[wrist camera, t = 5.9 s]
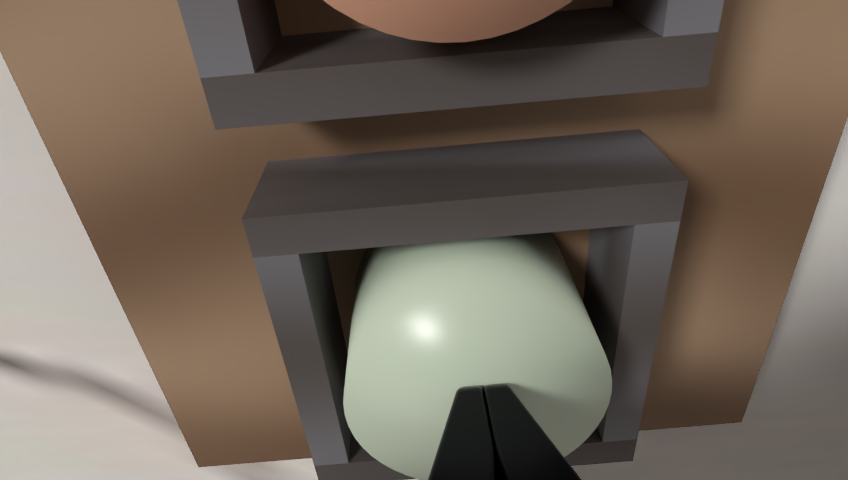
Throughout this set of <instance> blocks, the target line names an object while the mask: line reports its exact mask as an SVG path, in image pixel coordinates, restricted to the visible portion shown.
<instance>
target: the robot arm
mask: <svg viewBox="0 0 848 480" xmlns="http://www.w3.org/2000/svg"><path fill="white" fill-rule="evenodd" d="M428 480H581V479H580V478H579V476H578V475H577V474H576V472H575V471H574V470H573V468H572V467H571V466H570V465H569V463H568V462H567V461H566V459H565V458H564V457H563V455H562V454H561V453H560V451H559V450H558V449H557V448H556V446H555V445H554V444H553V442H552V441H551V440H550V438H549V437H548V436H547V435H546V433H545V432H544V431H543V429H542V428H541V427H540V425H539V424H538V423H537V422H536V420H535V419H534V418H533V416H532V415H531V414H530V412H529V411H528V410H527V408H526V407H525V406H524V405H523V403H522V402H521V401H520V399H519V398H518V397H517V395H516V394H515V393H514V392H513V390H512V389H511V388H510V387H509V386H508V385H506V384H499V385H488V386H485V387H484V388H483V390H482V388H481V387H478V386H476V387H464V388H459V389H458V390H457V391H456V394H455V397H454V400H453V403H452V406H451V409H450V412H449V416H448V419H447V422H446V425H445V428H444V431H443V434H442V437H441V440H440V444H439V447H438V450H437V453H436V456H435V459H434V462H433V465H432V468H431V472H430V475H429V478H428Z"/></svg>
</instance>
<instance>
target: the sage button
mask: <svg viewBox="0 0 848 480" xmlns="http://www.w3.org/2000/svg"><path fill="white" fill-rule="evenodd" d="M499 384H506V385H508V386H509V387H510V388H511V389H512V390H513V392H514V393H515V394H516V395H517V397H518V398H519V399H520V401H521V402H522V403H523V405H524V406H525V407H526V408H527V410H528V411H529V412H530V414H531V415H532V416H533V418H534V419H535V420H536V422H537V423H538V424H539V425H540V427H541V428H542V429H543V431H544V432H545V433H546V435H547V436H548V437H549V438H550V440H551V441H552V442H553V444H554V445H555V446H556V448H557V449H558V450H559V451H560V453H561V454H562V455H563V457H565V456H567V455H568V454H570V453H571V452H572V451H574V450H575V449H576V448H578V447H579V446H580V445H581V444H582V443H583V442H584V441H585V440H586V439H587V438H588V437H589V436H590V435H591V434H592V433H593V431H594V430H595V429H596V428H597V426H598V425H599V423H600V422H601V420H602V418H603V417H604V415H605V412H606V410H607V408H608V405H609V402H610V397H611V393H612V375H611V368H610V366H609V363H608V360H607V357H606V355H605V352H604V350H603V348H602V345H601V343H600V341H599V338H598V336H597V334H596V332H595V329H594V327H593V325H592V322H591V320H590V318H589V315H588V313H587V311H586V308H585V306H584V304H583V302H582V299H581V297H580V295H579V292H578V290H577V288H576V285H575V283H574V281H573V279H572V276H571V274H570V272H569V269H568V267H567V265H566V262H565V260H564V258H563V256H562V253H561V251H560V249H559V247H558V245H557V244H556V242H555V240H554V239H553V237H552V236H551V235H550V234H549V232H548V233H537V234H525V235H514V236H502V237H490V238H479V239H467V240H455V241H444V242H432V243H421V244H409V245H397V246H386V247H374V248H368V249H367V251H366V252H365V254H364V255H363V257H362V260H361V262H360V265H359V267H358V271H357V275H356V281H355V290H354V300H353V309H352V319H351V329H350V338H349V348H348V357H347V367H346V376H345V386H344V399H343V406H344V413H345V417H346V421H347V424H348V427H349V428H350V430H351V432H352V434H353V436H354V437H355V439H356V440H357V441H358V443H359V444H360V445H361V446H362V448H364V449H365V450H366V451H367V452H368V453H369V454H370V455H371V456H372V457H374V458H375V459H376V460H378V461H379V462H381V463H382V464H384V465H386V466H387V467H389V468H391V469H393V470H395V471H397V472H400V473H402V474H404V475H407V476H410V477H413V478H417V479H420V480H428V478H429V475H430V472H431V468H432V465H433V462H434V459H435V456H436V453H437V450H438V447H439V444H440V440H441V437H442V434H443V431H444V428H445V425H446V422H447V419H448V416H449V412H450V409H451V406H452V403H453V400H454V397H455V394H456V391H457V390H458V389H459V388H464V387H476V386H478V387H481V388H482V390H483V388H484V387H485V386H488V385H499Z"/></svg>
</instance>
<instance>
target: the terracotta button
mask: <svg viewBox="0 0 848 480" xmlns="http://www.w3.org/2000/svg"><path fill="white" fill-rule="evenodd" d="M323 1H325V2H326V3H328V4H329V5H330V6H332V7H333V8H334V9H336V10H338V11H340V12H341V13H343V14H345V15H347V16H348V17H350V18H352V19H354V20H356V21H357V22H359V23H361V24H364V25H366V26H369V27H371V28H374V29H376V30H379V31H381V32H384V33H387V34H391V35H395V36H399V37H403V38H407V39H411V40H418V41H427V42H435V43H452V42H469V41H476V40H482V39H488V38H493V37H496V36H500V35H503V34H507V33H510V32H513V31H517V30H519V29H521V28H524V27H526V26H528V25H530V24H533V23H535V22H537V21H540V20H542V19H544V18H545V17H547V16H549V15H550V14H552V13H554V12H555V11H557V10H559V9H560V8H562V7H564V6H566V5H567V4H569V3H570V2H571V1H573V0H323Z"/></svg>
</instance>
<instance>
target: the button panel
mask: <svg viewBox="0 0 848 480" xmlns="http://www.w3.org/2000/svg"><path fill="white" fill-rule="evenodd" d="M0 52H1V54H2V56H3V58H4V60H5V62H6V64H7V66H8V68H9V71H10V73H11V75H12V77H13V79H14V81H15V83H16V85H17V87H18V89H19V92H20V94H21V96H22V98H23V100H24V102H25V104H26V106H27V108H28V110H29V112H30V115H31V117H32V119H33V121H34V123H35V125H36V127H37V129H38V131H39V133H40V136H41V138H42V140H43V142H44V144H45V146H46V148H47V150H48V152H49V154H50V157H51V159H52V161H53V163H54V165H55V167H56V169H57V171H58V173H59V175H60V177H61V180H62V182H63V184H64V186H65V188H66V190H67V192H68V194H69V196H70V198H71V201H72V203H73V205H74V207H75V209H76V211H77V213H78V215H79V217H80V219H81V222H82V224H83V226H84V228H85V230H86V232H87V234H88V236H89V238H90V240H91V242H92V245H93V247H94V249H95V251H96V253H97V255H98V257H99V259H100V261H101V263H102V266H103V268H104V270H105V272H106V274H107V276H108V278H109V280H110V282H111V284H112V287H113V289H114V291H115V293H116V295H117V297H118V299H119V301H120V303H121V305H122V307H123V310H124V312H125V314H126V316H127V318H128V320H129V322H130V324H131V326H132V328H133V331H134V333H135V335H136V337H137V339H138V341H139V343H140V345H141V347H142V349H143V352H144V354H145V356H146V358H147V360H148V362H149V364H150V366H151V368H152V370H153V372H154V375H155V377H156V379H157V381H158V383H159V385H160V387H161V389H162V391H163V393H164V396H165V398H166V400H167V402H168V404H169V406H170V408H171V410H172V412H173V414H174V417H175V419H176V421H177V423H178V425H179V427H180V429H181V431H182V433H183V435H184V437H185V440H186V442H187V444H188V446H189V448H190V450H191V452H192V454H193V456H194V458H195V461H196V463H197V465H198V467H206V466H218V465H230V464H242V463H254V462H266V461H278V460H290V459H302V458H312V459H313V462H314V466H315V469H316V472H317V476H318V479H319V480H404V479H416V478H413V477H410V476H407V475H404V474H402V473H400V472H397V471H395V470H393V469H391V468H389V467H387V466H386V465H384V464H382V463H381V462H379V461H378V460H376V459H375V458H374V457H372V456H371V455H370V454H369V453H368V452H367V451H366V450H365V449H364V448H362V446H361V445H360V444H359V443H358V441H357V440H356V439H355V437H354V436H353V434H352V432H351V430H350V428H349V427H348V424H347V421H346V417H345V413H344V406H343V399H344V386H345V376H346V367H347V357H348V348H349V338H350V329H351V319H352V309H353V300H354V290H355V281H356V275H357V271H358V267H359V265H360V262H361V260H362V257H363V255H364V254H365V252H366V251H367V249H368V248H374V247H386V246H397V245H409V244H421V243H432V242H444V241H455V240H467V239H479V238H490V237H502V236H514V235H525V234H537V233H548V232H549V234H550V235H551V236H552V237H553V239H554V240H555V242H556V244H557V245H558V247H559V249H560V251H561V253H562V256H563V258H564V260H565V262H566V265H567V267H568V269H569V272H570V274H571V276H572V279H573V281H574V283H575V285H576V288H577V290H578V292H579V295H580V297H581V299H582V302H583V304H584V306H585V308H586V311H587V313H588V315H589V318H590V320H591V322H592V325H593V327H594V329H595V332H596V334H597V336H598V338H599V341H600V343H601V345H602V348H603V350H604V352H605V355H606V357H607V360H608V363H609V366H610V368H611V375H612V393H611V397H610V402H609V405H608V408H607V410H606V412H605V415H604V417H603V418H602V420H601V422H600V423H599V425H598V426H597V428H596V429H595V430H594V431H593V433H592V434H591V435H590V436H589V437H588V438H587V439H586V440H585V441H584V442H583V443H582V444H581V445H580V446H579V447H578V448H576V449H575V450H574V451H572V452H571V453H570V454H568V455H567V456H565V457H564V458H565V459H566V461H567V462H568V463H569V465H570V466H574V465H587V464H599V463H611V462H623V461H633V457H634V452H635V446H636V441H637V436H638V431H641V430H653V429H665V428H677V427H689V426H701V425H713V424H725V423H738V422H742V420H743V417H744V414H745V411H746V408H747V405H748V402H749V399H750V396H751V394H752V391H753V388H754V385H755V382H756V379H757V376H758V373H759V371H760V368H761V365H762V362H763V359H764V356H765V353H766V350H767V348H768V345H769V342H770V339H771V336H772V333H773V330H774V327H775V324H776V322H777V319H778V316H779V313H780V310H781V307H782V304H783V301H784V299H785V296H786V293H787V290H788V287H789V284H790V281H791V278H792V276H793V273H794V270H795V267H796V264H797V261H798V258H799V255H800V252H801V250H802V247H803V244H804V241H805V238H806V235H807V232H808V229H809V227H810V224H811V221H812V218H813V215H814V212H815V209H816V206H817V204H818V201H819V198H820V195H821V192H822V189H823V186H824V183H825V180H826V178H827V175H828V172H829V169H830V166H831V163H832V160H833V157H834V155H835V152H836V149H837V146H838V143H839V140H840V137H841V134H842V131H843V129H844V126H845V123H846V120H847V117H848V0H573V1H571V2H570V3H569V4H567V5H566V6H564V7H562V8H560V9H559V10H557V11H555V12H554V13H552V14H550V15H549V16H547V17H545V18H544V19H542V20H540V21H537V22H535V23H533V24H530V25H528V26H526V27H524V28H521V29H519V30H517V31H513V32H510V33H507V34H503V35H500V36H496V37H493V38H488V39H482V40H476V41H469V42H452V43H435V42H427V41H418V40H411V39H407V38H403V37H399V36H395V35H391V34H387V33H384V32H381V31H379V30H376V29H374V28H371V27H369V26H366V25H364V24H361V23H359V22H357V21H356V20H354V19H352V18H350V17H348V16H347V15H345V14H343V13H341V12H340V11H338V10H336V9H334V8H333V7H332V6H330V5H329V4H328V3H326V2H325V1H323V0H0Z"/></svg>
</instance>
